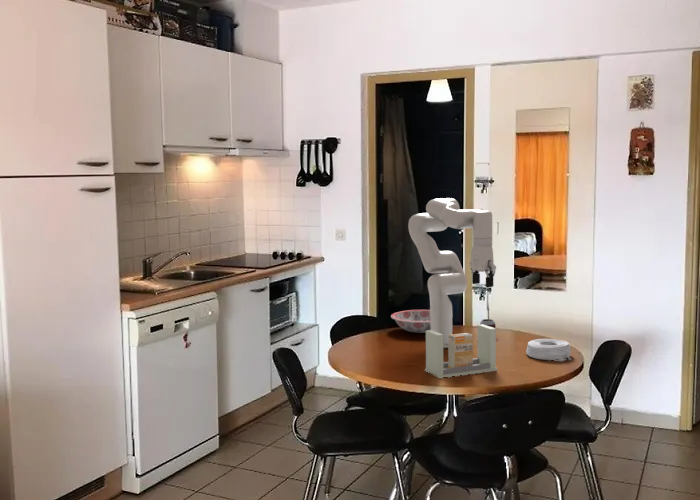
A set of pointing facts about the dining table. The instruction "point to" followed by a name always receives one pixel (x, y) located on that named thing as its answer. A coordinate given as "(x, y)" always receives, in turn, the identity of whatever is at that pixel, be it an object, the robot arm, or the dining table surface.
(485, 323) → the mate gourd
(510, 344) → the dining table surface
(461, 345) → the supplement box
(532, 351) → the cable
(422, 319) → the ceramic bowl
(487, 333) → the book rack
